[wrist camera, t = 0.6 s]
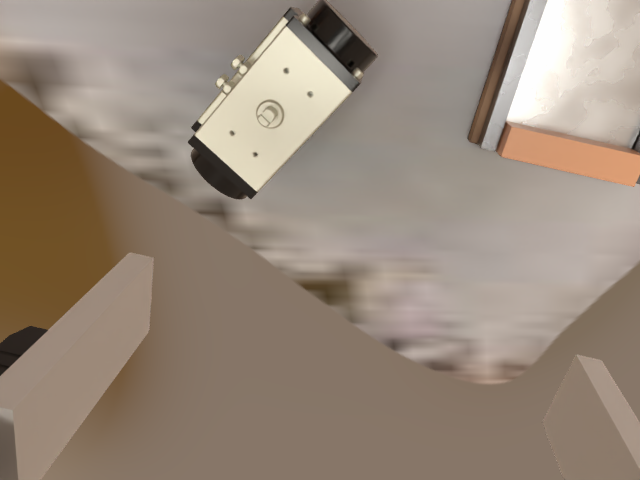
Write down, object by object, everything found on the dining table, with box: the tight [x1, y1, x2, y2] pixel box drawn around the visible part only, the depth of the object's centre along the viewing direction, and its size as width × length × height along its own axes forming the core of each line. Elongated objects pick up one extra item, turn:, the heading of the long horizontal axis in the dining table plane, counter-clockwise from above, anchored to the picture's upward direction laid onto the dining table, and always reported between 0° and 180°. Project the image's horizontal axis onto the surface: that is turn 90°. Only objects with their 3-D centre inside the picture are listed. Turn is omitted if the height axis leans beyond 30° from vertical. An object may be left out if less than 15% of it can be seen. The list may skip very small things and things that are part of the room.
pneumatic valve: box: [188, 0, 378, 199], centre depth 32 cm, size 6×12×12 cm, turn 137°
